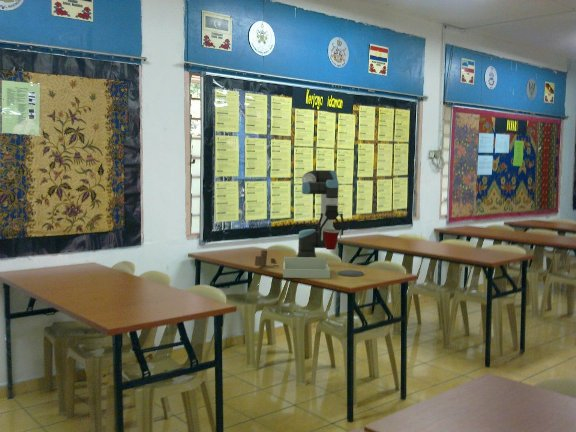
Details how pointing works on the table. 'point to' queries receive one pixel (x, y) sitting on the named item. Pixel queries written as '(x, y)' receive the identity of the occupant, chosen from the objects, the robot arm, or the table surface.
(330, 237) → the plastic cup
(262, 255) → the wooden block set
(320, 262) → the light grey tray
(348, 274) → the saucer
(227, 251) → the table surface
